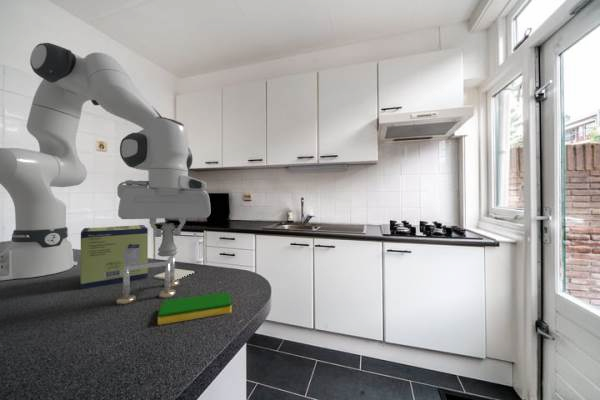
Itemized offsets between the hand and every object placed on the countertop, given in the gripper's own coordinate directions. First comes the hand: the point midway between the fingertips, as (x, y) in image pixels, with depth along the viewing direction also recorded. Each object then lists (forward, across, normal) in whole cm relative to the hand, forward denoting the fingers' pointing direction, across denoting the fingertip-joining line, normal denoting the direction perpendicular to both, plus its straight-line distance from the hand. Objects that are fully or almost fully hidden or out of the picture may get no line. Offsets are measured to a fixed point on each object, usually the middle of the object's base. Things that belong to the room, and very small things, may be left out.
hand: (167, 236), depth 60 cm
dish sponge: (+15, +5, -14) cm, 21 cm away
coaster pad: (+15, +3, +15) cm, 22 cm away
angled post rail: (+15, -2, +1) cm, 15 cm away
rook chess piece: (+5, 0, 0) cm, 5 cm away
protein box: (+15, -13, +21) cm, 29 cm away
